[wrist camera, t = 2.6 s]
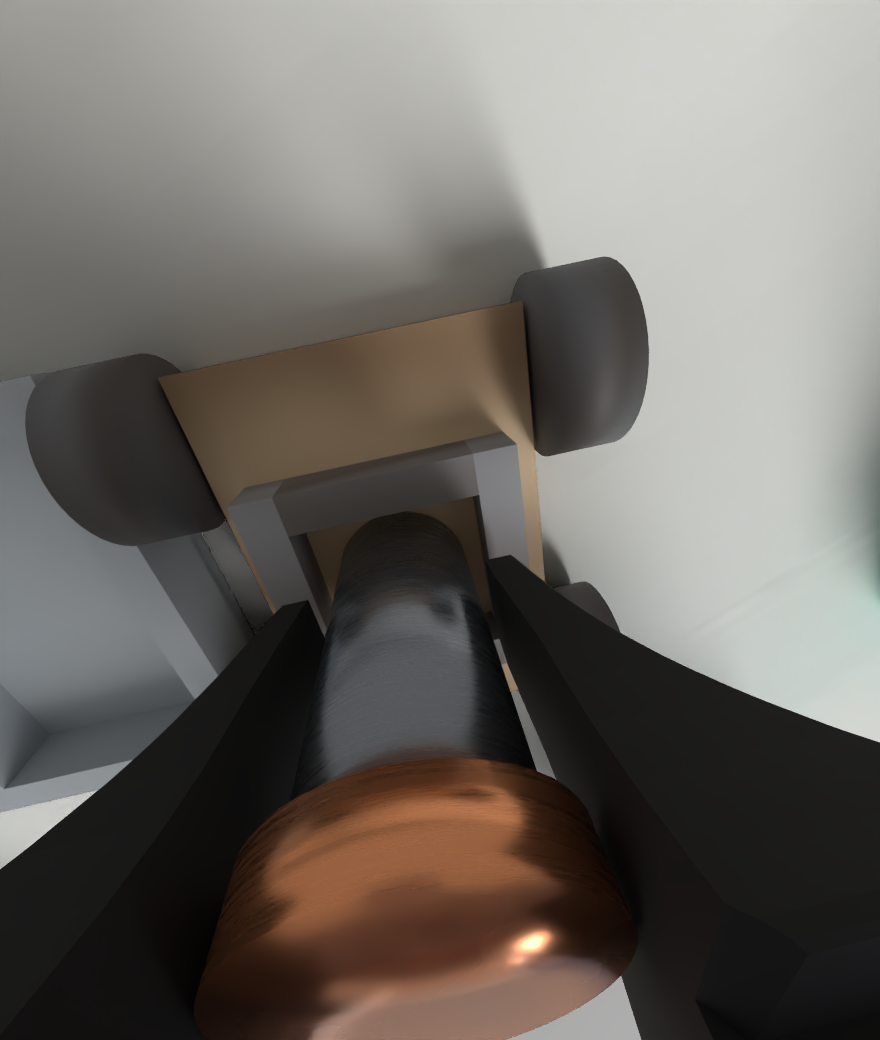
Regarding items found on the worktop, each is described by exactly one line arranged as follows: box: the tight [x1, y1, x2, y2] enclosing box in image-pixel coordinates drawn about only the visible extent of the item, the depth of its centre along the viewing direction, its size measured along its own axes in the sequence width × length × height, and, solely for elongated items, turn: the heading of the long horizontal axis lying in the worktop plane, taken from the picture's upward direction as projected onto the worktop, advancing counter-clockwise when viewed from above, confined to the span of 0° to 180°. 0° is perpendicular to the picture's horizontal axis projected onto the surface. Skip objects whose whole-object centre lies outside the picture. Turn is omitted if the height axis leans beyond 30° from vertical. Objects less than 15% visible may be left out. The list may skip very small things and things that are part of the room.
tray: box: [0, 372, 255, 812], centre depth 11 cm, size 9×12×2 cm
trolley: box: [25, 257, 649, 692], centre depth 11 cm, size 13×11×4 cm
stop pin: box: [194, 511, 638, 1040], centre depth 8 cm, size 4×4×8 cm
